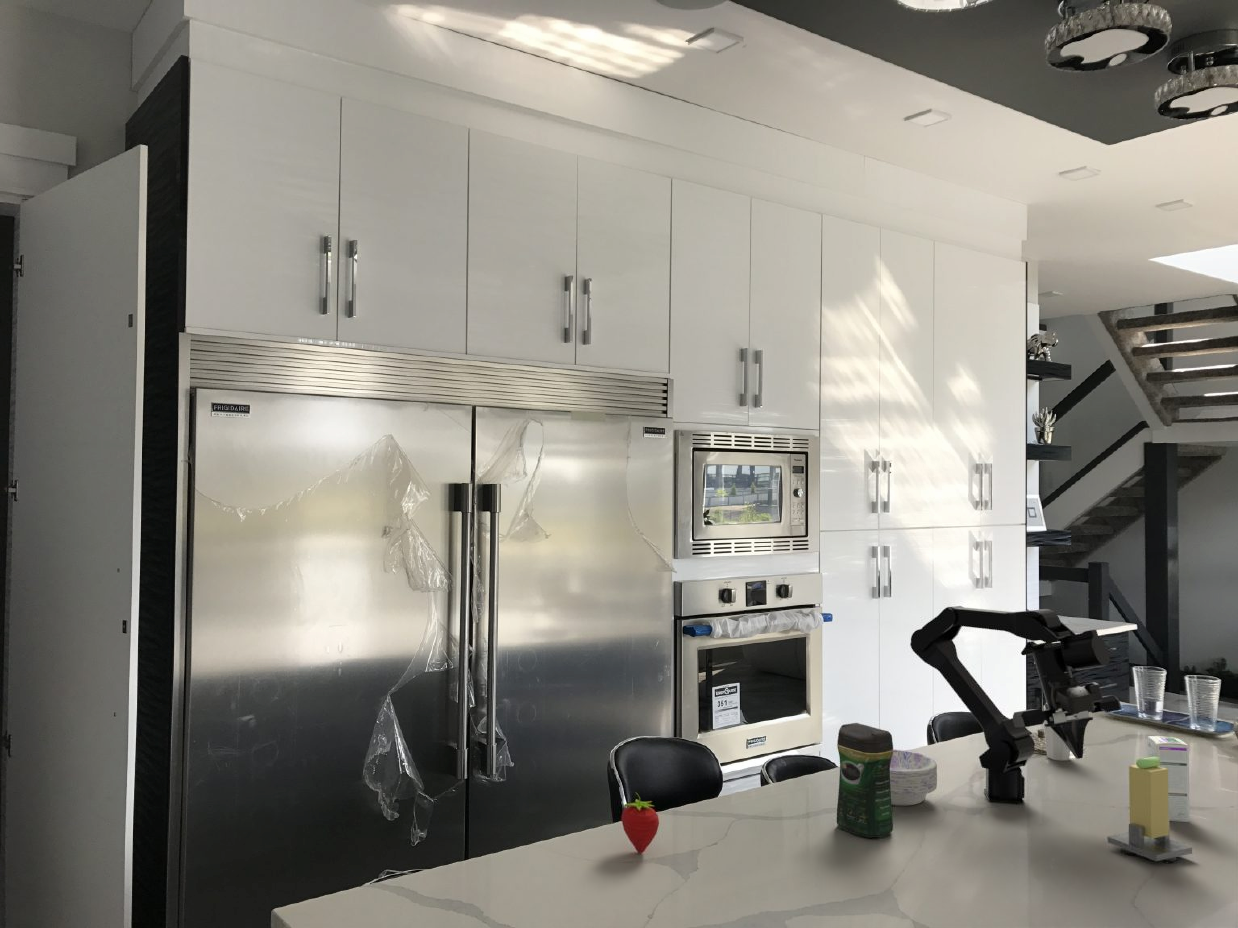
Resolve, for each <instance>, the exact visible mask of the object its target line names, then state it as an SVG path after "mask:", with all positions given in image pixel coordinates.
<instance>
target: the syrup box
mask: <svg viewBox="0 0 1238 928" xmlns="http://www.w3.org/2000/svg"><path fill="white" fill-rule="evenodd" d="M1189 747H1190V746H1189V744H1187V743H1186V742H1184V741H1183V740H1181V739H1180V738H1178V737H1174V736H1166V735H1165V736H1163V735H1161V736H1160V735H1154V736H1153V735H1152V736H1151V735H1149V736H1147V758H1149V757H1158V758H1159V759H1160V762H1161V764H1160V766H1158V767H1162V768H1166V769H1168V797H1169V822H1177V823H1178V822H1180V823H1181V822H1183V823H1190V817H1191V816H1190V809H1191V808H1190V804H1191V803H1190V800H1191V799H1190V758H1189V757H1190V756H1189V755H1190V753H1189V752H1190V751H1189V750H1190V749H1189Z"/></svg>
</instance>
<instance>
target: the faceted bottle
mask: <svg viewBox="0 0 1238 928" xmlns="http://www.w3.org/2000/svg"><path fill="white" fill-rule="evenodd" d="M1065 673H1067V672H1065ZM1045 704H1047V702H1046V703H1045ZM1045 704H1044V705H1043V711H1045V710H1046V708H1045ZM1048 710H1049V709H1048ZM1059 711H1062V709H1058V710H1057V711H1056V712H1059ZM1066 719H1067V720H1069V716H1066ZM1045 724H1047V721H1046V720H1045V721H1044V723H1043V730H1044V739H1045V748H1046V750H1045V751H1046V755H1047V756H1046V757H1047V758H1049V759H1051V760H1054V761H1064V762H1065V761H1070V755H1071V754H1070V753H1071V751H1070V750H1069V748H1068V747H1067V746H1066V744H1065V743H1064V742H1063V740H1062V739H1061V738H1060V737H1059V736H1058V735H1057V734H1056V733H1055V731H1054V730H1053V729H1052V728H1051V727H1045Z"/></svg>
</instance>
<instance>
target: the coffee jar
mask: <svg viewBox="0 0 1238 928" xmlns="http://www.w3.org/2000/svg"><path fill="white" fill-rule="evenodd" d="M837 735H838V737H837V741H836V742H837V743H836V745H837V751H838V756H839V780H838V781H839V782H838V783H839V784H838V795H837V797H838V798H837V806H836V823H837V826H838V827H839V828H840V829H843V830H844V831H847V832H849V833H852V834H855V835H858V836H860V837H864V838H884V837H886V836H888V835H890V834H891V833H893V829H894V828H893V827H894V826H893V825H894V820H893V819H894V818H893V817H894V816H893V807H892V806H893V805H892V803H891V788H890V763H891V758H892V756H893V749H894V743H893V736H892V734H891V732H890V731H888V730H885V729H881V728H877V727H873V726H871V725H867V724H863V723H859V722H853V723H845V724H842V725H841V726H840V728H839V730H838V734H837Z"/></svg>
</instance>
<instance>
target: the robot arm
mask: <svg viewBox="0 0 1238 928" xmlns="http://www.w3.org/2000/svg"><path fill="white" fill-rule="evenodd" d="M962 627H967V628H975V629H984V630H991V631H1001V632H1006V633H1009V634H1012V635H1014V636H1016V637H1019V638H1022V639H1026V640H1028V641H1027V642H1026V643H1025V647H1023V649H1022V650H1021V652H1020V655H1022V656H1027V655H1032V657H1033V660H1034V663H1035V667H1036V670H1037V674H1038V677H1039V681H1040V682H1038V687H1039V689H1042V691H1043V695H1044V698H1045V702H1046V703H1047V704H1046V703H1044V705H1045V708H1046V710H1045V711H1044V710H1043V709H1041V708H1030V709H1025V710H1021V711H1015V712H1013V714H1012V718H1010V717H1007V716H1005V715H1004V714H1003V713H1002V712H1001V711H1000V709H999V708H998V707H997V705H996V704H995V703H994V702H993V701H992V699H991V698H990V696H988V694H987V693H986V692H985V690H984V689H983V688H982V686H981V685H980V684H979V683H978V682H977V680H976V679H975V678H974V676H973V675H972V674H971V673H970V672H969V670H968V669H967V667H966V666H965V665H964V664H963V663H962V662H961V660H960V659H959V657H958V656H959V655H958V651H957V647H956V644H955V643H954V641H953V640H955V639H956V638H957V636H958V635H959V633H960V631H961V629H962ZM1098 634H1099V633H1098V631H1097V629H1089V630H1084V631H1083V632H1080V633H1075V632H1074V631H1073V630H1072V629H1070V628H1069V627H1068V626H1066V624H1064V623H1063V622H1062V621H1061V618H1060V617H1059V615H1057V613H1056V611H1054V610H1052V609H1050V608H1044V609H1041V608H1040V609H1032V610H1022V611H1021V610H1020V611H1006V610H994V609H983V608H973V607H964V606H962V605H957V606H956V605H954V606H947V607H945V608H944V609H942V611H941V612H940V613H939V614H938V615H936V616H935V617H934V618H932V619H931V620H930V621H927V623H925V624H924V625H923V626H922V628H919V629H916V630H915V631H914V632H913V633H912V634H911V637H910V644H909V645H910V648H911V650H912V652H914V653H915V655H916V656H918V658H919V659H920V660H922V661H923V662H924V663H926V664H927V665H929V666H930V667H931V668H933V669H935V670H937V671H938V672H939V673H940V674H941V676H942V677H943V678H944V680H945V681H946V682H947V684H948V685H949V686H950V687H951V689H952V690H953V691H954V693H955V694H956V695H957V697H958V698H959V699H960V700H961V701H962V703H963V704H964V706H965V707H966V708H967V710H969V711H968V712H970V714H972V716H973V717H974V718H975V720H976V721H977V722H978V724H979V725H980V726H981V728H982V731H983V736H984V739H985V743H986V745H987V747H988V749H987V750H986V751H984V752H983V753H982V754H980V755H979V756H978V759H979V762H980V765H981V768H983V769H985V788H983V792H984V794H985V796H986V798H987V800H988V801H989V802H999V803H1010V804H1021V805H1022V804H1024V799H1025V796H1026V795H1025V794H1026V793H1025V792H1026V791H1025V787H1026V786H1025V784H1026V783H1025V782H1026V781H1025V777H1024V774H1022V773H1023V772H1022V771H1023V770H1022V768H1021V767H1026V765H1027V762H1028V759H1030V758H1031V757H1033V755H1034V752H1035V745H1036V743H1035V741H1034V738H1033V737H1032V735H1033V732H1032V731H1031V730H1028V728H1030V727H1033V726H1035V727H1036V726H1040V725H1044V721H1045V720H1046V721H1047V724H1045V727H1051V728H1052V729H1053V730H1054V731H1055V733H1056V734H1057V735H1058V736H1059V737H1060V738H1061V739H1062V740H1063V742H1064V743H1065V744H1066V746H1067V747H1068V748H1069V750H1070V753H1071V754H1072V755H1073V756H1074V758H1075V759H1076V760H1079V759H1083V756H1084V746H1085V745H1084V743H1085V742H1084V741H1085V733H1086V728H1087V725H1089V722H1090V721H1093V720H1094V716H1090V713H1092V714H1095V713H1100V712H1101V713H1102V712H1105V713H1111V712H1116V711H1121V710H1123V708H1122V705H1121V702H1120V700H1119V698H1118V697H1117V696H1115V695H1113V694H1111V695H1103V693H1102V689H1101V687H1100V684H1099V683H1097V682H1095V681H1094V682H1089V683H1085V684H1084V686H1080V685H1079V683H1078V679H1077V678H1076V676H1072V672H1071V669H1070V668H1072V669H1073V670H1074V671H1082V670H1083V671H1084V670H1089V669H1094V668H1101V667H1106V666H1108V665H1109V664H1110V662H1111V653H1110V649H1109V646H1108V645H1107V644H1106V643H1105V641H1104V639H1103V638H1102V637H1101V636H1100V635H1098ZM1036 641H1042V643H1036ZM1059 642H1060V645H1055V644H1054V643H1059ZM1065 672H1067V673H1065ZM1048 709H1049V710H1048ZM1058 709H1062V711H1059V712H1056V711H1057V710H1058ZM1066 716H1069V720H1067V719H1066Z"/></svg>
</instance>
